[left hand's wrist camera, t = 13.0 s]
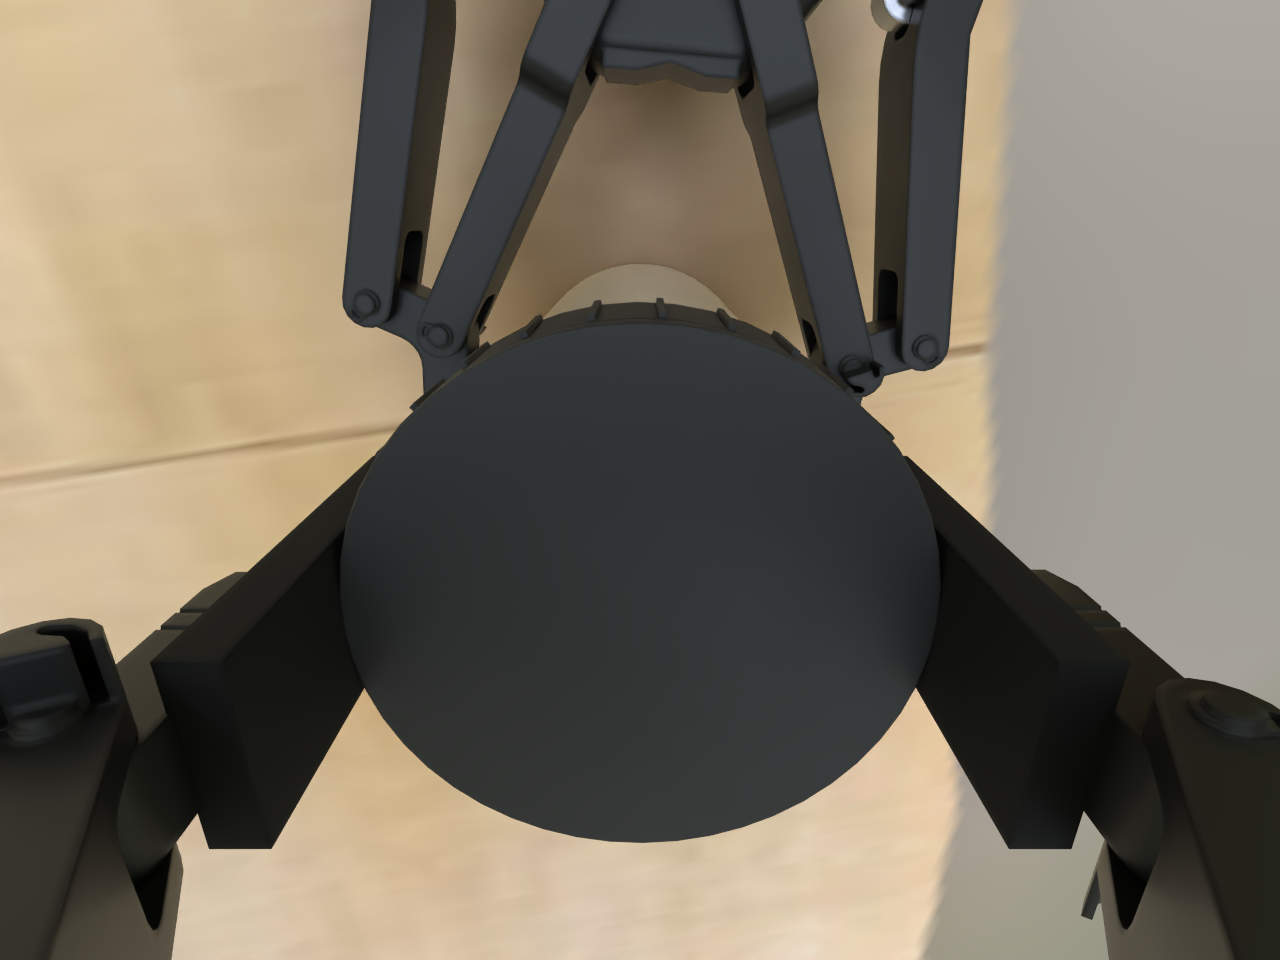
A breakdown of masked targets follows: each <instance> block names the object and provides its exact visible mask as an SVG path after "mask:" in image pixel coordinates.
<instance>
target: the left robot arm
mask: <svg viewBox="0 0 1280 960" xmlns="http://www.w3.org/2000/svg"><path fill="white" fill-rule="evenodd" d="M903 457H904V458H905V460H906V462H907V464H908V465H909V467H910V469H911V471H912V472H913V474H914V476H915V477H916V479H917V481H918V483H919V485H920V488H921V491H922V493H923V496H924V498H925V501H926V503H927V506H928V509H929V511H930V514H931V516H932V521H933V525H934V530H935V535H936V539H937V544H938V549H939V557H940V575H941V594H940V604H939V612H938V618H937V624H936V628H935V633H934V638H933V643H932V647H931V651H930V654H929V657H928V659H927V662H926V664H925V667H924V669H923V672H922V674H921V676H920V679H919V681H918V684H917V686H916V689H917V690H918V692H919V694H920V696H921V697H922V699H923V701H924V702H925V704H926V706H927V708H928V709H929V711H930V713H931V715H932V716H933V718H934V720H935V722H936V723H937V725H938V727H939V728H940V730H941V732H942V734H943V735H944V737H945V739H946V741H947V742H948V744H949V746H950V748H951V749H952V751H953V753H954V754H955V756H956V758H957V760H958V761H959V763H960V765H961V767H962V768H963V770H964V772H965V774H966V775H967V777H968V779H969V780H970V782H971V784H972V786H973V787H974V789H975V791H976V793H977V794H978V796H979V798H980V800H981V801H982V803H983V805H984V806H985V808H986V810H987V812H988V813H989V815H990V817H991V819H992V820H993V822H994V824H995V826H996V827H997V829H998V831H999V832H1000V834H1001V836H1002V838H1003V839H1004V841H1005V843H1006V845H1007V846H1008V848H1009V849H1071V848H1072V845H1073V842H1074V839H1075V836H1076V833H1077V830H1078V827H1079V824H1080V820H1081V817H1082V814H1083V811H1084V812H1085V813H1086V814H1087V816H1088V817H1089V818H1090V820H1091V821H1092V822H1093V824H1094V825H1095V827H1096V828H1097V829H1098V831H1099V832H1100V833H1101V835H1102V836H1103V837H1104V839H1105V840H1104V843H1103V846H1102V849H1101V852H1100V855H1099V858H1098V861H1097V864H1096V867H1095V870H1094V873H1093V876H1092V878H1091V881H1090V884H1089V887H1088V890H1087V893H1086V896H1085V899H1084V903H1083V908H1082V914H1081V916H1083V917H1086V918H1088V919H1091V920H1092V919H1093V916H1094V913H1095V910H1096V907H1097V904H1099V903H1101V904H1102V911H1103V919H1104V926H1105V933H1106V941H1107V947H1108V955H1109V960H1280V709H1278V708H1277V707H1275V706H1274V705H1272V704H1270V703H1268V702H1266V701H1264V700H1262V699H1260V698H1258V697H1255V696H1253V695H1251V694H1249V693H1247V692H1245V691H1242V690H1239V689H1236V688H1233V687H1229V686H1226V685H1223V684H1220V683H1217V682H1212V681H1205V680H1198V679H1191V678H1184V677H1182V676H1181V675H1180V674H1179V673H1178V672H1177V671H1175V670H1174V669H1173V668H1172V667H1171V666H1170V665H1168V664H1167V663H1166V662H1165V661H1164V660H1163V659H1161V658H1160V657H1159V656H1158V655H1157V654H1156V653H1155V652H1153V651H1152V650H1151V649H1150V648H1149V647H1147V646H1146V645H1145V644H1144V643H1143V642H1142V641H1141V640H1139V639H1138V638H1137V637H1136V636H1135V635H1134V634H1132V633H1131V632H1130V631H1129V630H1128V629H1127V628H1124V627H1121V626H1120V622H1118V621H1117V620H1116V619H1115V618H1114V617H1113V616H1112V615H1110V614H1109V613H1108V612H1107V611H1102V610H1101V606H1100V605H1099V604H1098V603H1096V602H1095V601H1094V600H1093V599H1092V598H1091V597H1089V596H1088V595H1087V594H1086V593H1085V592H1084V591H1082V590H1081V589H1080V588H1079V587H1078V586H1076V585H1074V584H1072V583H1070V582H1068V581H1066V580H1064V579H1062V578H1060V577H1058V576H1056V575H1054V574H1052V573H1050V572H1049V571H1047V570H1030V569H1029V568H1028V567H1027V566H1026V565H1025V564H1024V563H1023V562H1022V561H1021V560H1019V559H1018V558H1017V557H1016V556H1015V555H1014V554H1013V553H1012V552H1011V551H1010V550H1009V549H1007V548H1006V547H1005V546H1004V545H1003V544H1002V543H1001V542H1000V541H999V540H998V539H997V538H996V537H994V536H993V535H992V534H991V533H990V532H989V531H988V530H987V529H986V528H985V527H984V526H983V525H981V524H980V523H979V522H978V521H977V520H976V519H975V518H974V517H973V516H972V515H971V514H970V513H968V512H967V511H966V510H965V509H964V508H963V507H962V506H961V505H960V504H959V503H958V502H956V501H955V500H954V499H953V498H952V497H951V496H950V495H949V494H948V493H947V492H946V491H945V490H943V489H942V488H941V487H940V486H939V485H938V484H937V483H936V482H935V481H934V480H933V479H932V478H930V477H929V476H928V475H927V474H926V473H925V472H924V471H923V470H922V469H921V468H920V467H919V466H917V465H916V464H915V463H914V462H913V461H912V460H911V459H910V458H909V457H908V456H903ZM374 460H375V458H374V456H373V457H372V458H371V459H370V460H368V461H367V462H366V463H365V464H364V465H363V466H362V467H361V468H360V469H359V470H358V471H357V472H355V473H354V474H353V475H352V476H351V477H350V478H349V479H348V480H347V481H346V482H345V483H343V484H342V485H341V486H340V487H339V488H338V489H337V490H336V491H335V492H334V493H333V494H332V495H330V496H329V497H328V498H327V499H326V500H325V501H324V502H323V503H322V504H321V505H320V506H319V507H317V508H316V509H315V510H314V511H313V512H312V513H311V514H310V515H309V516H308V517H307V518H306V519H304V520H303V521H302V522H301V523H300V524H299V525H298V526H297V527H296V528H295V529H294V530H293V531H291V532H290V533H289V534H288V535H287V536H286V537H285V538H284V539H283V540H282V541H281V542H279V543H278V544H277V545H276V546H275V547H274V548H273V549H272V550H271V551H270V552H269V553H268V554H266V555H265V556H264V557H263V558H262V559H261V560H260V561H259V562H258V563H257V564H256V565H255V566H253V567H252V568H251V569H250V570H249V571H248V572H235V573H233V574H231V575H229V576H227V577H225V578H223V579H222V580H220V581H218V582H216V583H214V584H212V585H210V586H208V587H206V588H204V589H203V590H201V591H200V592H199V593H198V594H197V595H196V596H195V597H193V598H192V599H191V600H190V601H189V602H188V603H186V604H185V605H184V606H183V607H182V608H181V609H180V613H175V614H174V615H173V616H171V617H170V618H169V619H168V620H167V621H166V622H165V623H163V624H162V625H161V630H155V631H154V632H153V633H152V634H151V635H150V636H148V637H147V638H146V639H145V640H144V641H143V642H141V643H140V644H139V645H138V646H137V647H136V648H135V649H133V650H132V651H131V652H130V653H129V654H128V655H127V656H125V657H124V658H123V659H122V660H121V661H120V662H118V663H117V664H115V661H114V658H113V655H112V652H111V649H110V647H109V644H108V641H107V638H106V635H105V632H104V629H103V626H101V625H100V624H98V623H96V622H94V621H92V620H90V619H77V618H66V619H58V620H50V621H42V622H39V623H35V624H31V625H27V626H24V627H20V628H16V629H12V630H10V631H7V632H5V633H2V634H0V960H171V958H172V950H173V943H174V936H175V928H176V921H177V914H178V906H179V899H180V892H181V885H182V877H183V865H182V859H181V855H180V852H179V849H178V846H177V843H176V842H177V840H178V839H179V838H180V836H181V835H182V834H183V832H184V831H185V830H186V828H187V827H188V825H189V824H190V823H191V821H192V820H193V819H194V817H195V816H196V815H197V813H198V816H199V819H200V822H201V825H202V828H203V831H204V835H205V838H206V841H207V844H208V847H209V849H272V847H273V845H274V844H275V842H276V840H277V838H278V837H279V835H280V833H281V831H282V830H283V828H284V826H285V825H286V823H287V821H288V819H289V818H290V816H291V814H292V812H293V811H294V809H295V807H296V805H297V804H298V802H299V800H300V799H301V797H302V795H303V793H304V792H305V790H306V788H307V786H308V785H309V783H310V781H311V779H312V778H313V776H314V774H315V773H316V771H317V769H318V767H319V766H320V764H321V762H322V760H323V759H324V757H325V755H326V753H327V752H328V750H329V748H330V747H331V745H332V743H333V741H334V740H335V738H336V736H337V734H338V733H339V731H340V729H341V727H342V726H343V724H344V722H345V721H346V719H347V717H348V715H349V714H350V712H351V710H352V708H353V707H354V705H355V703H356V701H357V700H358V698H359V696H360V695H361V693H362V691H363V689H364V688H365V687H364V685H363V683H362V680H361V678H360V676H359V674H358V671H357V669H356V667H355V664H354V662H353V660H352V656H351V653H350V649H349V646H348V641H347V636H346V632H345V627H344V621H343V615H342V609H341V604H340V596H339V582H340V556H341V551H342V546H343V540H344V535H345V529H346V524H347V521H348V518H349V515H350V512H351V509H352V507H353V504H354V501H355V498H356V495H357V492H358V490H359V487H360V486H361V484H362V482H363V480H364V478H365V476H366V474H367V473H368V471H369V469H370V467H371V465H372V463H373V462H374Z"/></svg>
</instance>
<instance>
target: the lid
mask: <svg viewBox="0 0 1280 960" xmlns="http://www.w3.org/2000/svg"><path fill="white" fill-rule="evenodd" d="M459 367H460V369H459V370H458V371H457V372H456V373H455V374H454V375H453V376H451V377H450V378H449V379H448V380H447V381H446V380H445V379H444V378H442V379H441V380H440V381H439V382H438V383H436V384H435V385H434V386H433V387H432V388H431V389H429V390H428V391H427V392H426V393H425V394H424V395H422V396H421V397H420V398H419V399H418V400H416V401H415V402H414V403H413V404H412V405H411V406H410V409H412V410H413V412H412V413H411V414H410V415H409V416H408V417H407V418H406V419H405V420H404V421H403V422H402V423H401V424H400V425H399V427H398V428H397V429H396V431H395V432H394V433H393V435H392V436H391V437H390V439H389V440H388V441H387V443H386V444H385V445H384V446H383V447H382V448H381V449H380V450H379V451H378V452H377V453H376V454H375V456H374V458H375V460H374V462H373V463H372V465H371V467H370V469H369V471H368V473H367V474H366V476H365V478H364V480H363V482H362V484H361V486H360V487H359V490H358V492H357V495H356V498H355V501H354V504H353V507H352V509H351V512H350V515H349V518H348V521H347V524H346V529H345V535H344V540H343V546H342V551H341V556H340V582H339V596H340V604H341V609H342V615H343V621H344V627H345V632H346V636H347V641H348V646H349V649H350V653H351V656H352V660H353V662H354V664H355V667H356V669H357V671H358V674H359V676H360V678H361V680H362V683H363V685H364V687H365V689H366V691H367V693H368V695H369V696H370V698H371V699H372V701H373V703H374V704H375V706H376V708H377V709H378V711H379V713H380V714H381V716H382V717H383V719H384V720H385V721H386V723H387V724H388V725H389V726H390V728H391V729H392V730H393V731H394V732H395V734H396V735H397V736H398V737H399V739H400V740H401V741H402V742H403V744H404V745H405V746H406V747H407V748H408V749H409V750H410V751H412V752H413V753H414V754H415V755H416V756H417V757H418V758H419V759H420V760H421V761H422V762H423V763H424V764H425V765H426V766H427V767H428V768H429V769H431V770H432V771H433V772H435V773H436V774H437V775H439V776H440V777H441V778H443V779H444V780H445V781H446V782H448V783H449V784H450V785H452V786H453V787H454V788H456V789H458V790H459V791H461V792H463V793H464V794H466V795H468V796H469V797H471V798H473V799H474V800H476V801H478V802H479V803H481V804H483V805H485V806H487V807H489V808H491V809H494V810H496V811H498V812H500V813H502V814H504V815H506V816H509V817H511V818H513V819H516V820H519V821H522V822H525V823H527V824H530V825H533V826H536V827H539V828H542V829H545V830H549V831H554V832H558V833H562V834H566V835H570V836H575V837H581V838H588V839H595V840H602V841H610V842H635V843H648V842H666V841H679V840H686V839H692V838H699V837H705V836H711V835H715V834H719V833H722V832H726V831H730V830H734V829H738V828H742V827H745V826H747V825H750V824H753V823H756V822H758V821H761V820H764V819H766V818H769V817H772V816H774V815H776V814H778V813H780V812H783V811H785V810H787V809H789V808H791V807H793V806H795V805H797V804H799V803H801V802H803V801H805V800H806V799H808V798H809V797H811V796H813V795H814V794H816V793H817V792H819V791H820V790H822V789H824V788H825V787H827V786H828V785H830V784H832V783H833V782H834V781H835V780H837V779H838V778H839V777H840V776H842V775H843V774H844V773H845V772H847V771H848V770H849V769H850V768H852V767H853V766H854V765H855V764H857V763H858V762H859V761H860V760H861V759H862V758H863V757H864V756H865V755H866V754H867V753H868V752H869V751H870V750H871V749H872V748H873V746H874V745H875V744H876V743H877V742H878V741H879V740H880V739H881V738H882V737H883V735H884V734H885V733H886V732H887V730H888V729H889V728H890V726H891V725H892V724H893V722H894V721H895V720H896V719H897V717H898V716H899V715H900V713H901V712H902V710H903V708H904V706H905V705H906V703H907V701H908V700H909V698H910V696H911V694H912V693H913V691H914V689H915V688H916V686H917V684H918V681H919V679H920V676H921V674H922V672H923V669H924V667H925V664H926V662H927V659H928V657H929V654H930V651H931V647H932V643H933V638H934V633H935V628H936V624H937V618H938V612H939V604H940V594H941V575H940V557H939V549H938V544H937V539H936V535H935V530H934V525H933V521H932V516H931V514H930V511H929V509H928V506H927V503H926V501H925V498H924V496H923V493H922V491H921V488H920V485H919V483H918V481H917V479H916V477H915V476H914V474H913V472H912V471H911V469H910V467H909V465H908V464H907V462H906V460H905V458H904V457H903V455H902V453H901V451H900V450H899V448H898V447H897V446H896V445H895V443H894V442H893V441H892V440H894V439H895V438H894V437H893V435H892V434H891V433H890V432H889V431H888V430H887V429H886V428H885V427H884V426H882V425H881V424H880V423H879V422H878V421H877V420H876V419H875V418H873V417H872V416H871V415H870V414H869V413H868V412H867V411H866V410H865V409H864V408H863V407H862V406H860V405H859V404H858V403H857V402H856V401H855V400H854V399H853V398H852V397H851V396H850V395H851V394H852V393H853V392H854V390H853V389H852V388H850V387H849V386H848V385H847V384H846V383H845V382H843V381H842V380H841V379H840V378H839V377H837V376H836V375H835V374H834V373H833V372H832V371H830V370H829V369H828V368H827V367H826V366H824V365H823V364H821V365H820V366H819V368H818V367H817V366H816V365H815V364H814V363H812V362H811V361H810V360H809V359H808V358H806V357H805V356H803V355H802V354H800V351H799V350H798V349H797V348H796V347H794V346H793V345H792V344H791V343H790V342H789V341H788V340H786V339H785V338H784V337H783V336H782V335H781V334H780V333H778V332H776V331H773V333H772V334H771V335H770V334H768V333H766V332H764V331H762V330H760V329H758V328H756V327H754V326H752V325H750V324H748V323H746V322H743V321H740V320H737V319H734V318H731V317H730V316H729V315H728V314H727V313H726V311H725V310H724V309H721V308H717V311H716V312H713V311H709V310H704V309H699V308H694V307H689V306H683V305H678V304H669V303H664V299H663V298H656V303H651V302H627V303H614V304H602V303H601V300H595V301H594V302H593V304H592V306H591V307H586V308H581V309H577V310H572V311H568V312H563V313H560V314H557V315H554V316H552V317H549V318H546V319H543V318H542V315H539V316H536V317H535V318H534V319H533V320H532V321H531V322H530V323H529V324H528V325H527V326H525V327H523V328H521V329H519V330H518V331H516V332H514V333H512V334H510V335H508V336H506V337H504V338H503V339H501V340H499V341H497V342H495V343H494V344H492V345H491V346H490V344H489V343H488V342H486V343H484V344H483V345H481V346H480V347H479V348H478V349H477V350H475V351H474V352H473V353H472V354H471V355H470V356H468V357H467V358H466V359H465V360H464V361H463V362H461V363H460V364H459Z"/></svg>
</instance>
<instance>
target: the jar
mask: <svg viewBox="0 0 1280 960" xmlns="http://www.w3.org/2000/svg"><path fill="white" fill-rule="evenodd" d="M656 298H663V299H664V303H669V304H678V305H683V306H689V307H694V308H699V309H704V310H709V311H713V312H716V311H717V308H721V309H724V310H725V311H726V313H727V314H728V315H729V316H730V317H731V318H734V319H737V318H736V316H735V315H734V314H733V313H732V312H731V311H730V310H729V309H728V308H727V306H726V305H725V304H724V303H723V302H722V301H721V300H720V299H719V298H718V296H716V295H715V294H714V293H713V292H712V291H711V290H710V289H709V288H708V287H706V286H705V285H704V284H702V283H701V282H699V281H698V280H696V279H695V278H693V277H691V276H689V275H687V274H685V273H683V272H680V271H677V270H675V269H672V268H669V267H664V266H659V265H654V264H627V265H621V266H616V267H612V268H608V269H605V270H603V271H600V272H597V273H595V274H593V275H591V276H589V277H587V278H586V279H584V280H582V281H581V282H579V283H578V284H577V285H575V286H574V287H572V288H571V289H570V290H569V291H568V292H567V293H566V294H565V295H564V296H563V297H562V298H561V299H560V300H559V301H558V302H557V303H556V304H555V305H554V306H553V307H552V309H551V310H550V311H549V312H548V313H547V314H546V315H545V316H544V317H543V319H546V318H549V317H552V316H554V315H557V314H560V313H563V312H568V311H572V310H577V309H581V308H586V307H591V306H592V304H593V302H594V301H595V300H601V303H602V304H614V303H627V302H651V303H656ZM737 320H738V319H737Z"/></svg>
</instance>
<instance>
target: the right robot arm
mask: <svg viewBox="0 0 1280 960" xmlns="http://www.w3.org/2000/svg"><path fill="white" fill-rule="evenodd" d="M544 1H545V4H544V6H543V9H542V11H541V14H540V16H539V18H538V21H537V23H536V26H535V28H534V31H533V33H532V35H531V38H530V40H529V43H528V45H527V48H526V50H525V53H524V56H523V59H522V63H521V67H520V74H519V79H518V82H517V85H516V88H515V90H514V92H513V95H512V97H511V100H510V102H509V104H508V107H507V109H506V112H505V114H504V116H503V119H502V121H501V124H500V126H499V129H498V131H497V133H496V136H495V138H494V141H493V143H492V145H491V148H490V150H489V153H488V155H487V157H486V160H485V162H484V165H483V167H482V170H481V172H480V174H479V177H478V179H477V182H476V184H475V186H474V189H473V191H472V194H471V196H470V198H469V201H468V203H467V206H466V208H465V211H464V213H463V215H462V218H461V220H460V223H459V225H458V227H457V230H456V232H455V235H454V237H453V240H452V242H451V244H450V247H449V249H448V252H447V254H446V256H445V259H444V261H443V264H442V266H441V268H440V271H439V273H438V276H437V278H436V281H435V283H434V285H433V288H432V289H430V288H428V287H426V286H423V285H421V282H422V275H423V268H424V261H425V253H426V246H427V239H428V232H429V225H430V217H431V210H432V203H433V196H434V189H435V181H436V174H437V167H438V160H439V153H440V145H441V138H442V131H443V124H444V116H445V109H446V102H447V95H448V88H449V80H450V73H451V66H452V59H453V52H454V43H455V32H456V0H371V10H370V21H369V31H368V41H367V51H366V61H365V71H364V82H363V92H362V102H361V112H360V122H359V132H358V143H357V153H356V163H355V173H354V183H353V193H352V204H351V214H350V224H349V234H348V244H347V255H346V265H345V275H344V285H343V295H342V300H343V308H344V310H345V312H346V314H347V316H348V317H349V318H350V319H351V320H352V321H353V322H354V323H356V324H358V325H360V326H362V327H370V328H374V327H378V328H380V329H383V330H385V331H387V332H390V333H392V334H394V335H397V336H399V337H401V338H403V339H405V340H406V341H408V342H409V343H410V344H411V345H413V346H414V347H415V349H416V350H417V352H418V353H419V355H420V358H421V360H422V366H423V390H424V394H425V393H426V392H427V391H428V390H429V389H431V388H432V387H433V386H434V385H435V384H436V383H438V382H439V381H440V380H441V379H442V378H444V379H445V380H446V381H447V380H448V379H449V378H450V377H451V376H453V375H454V374H455V373H456V372H457V371H458V370H459V369H460V367H459V364H460V363H461V362H463V361H464V360H465V359H466V358H467V357H468V356H470V355H471V354H472V353H473V352H474V351H475V350H477V349H478V348H479V336H480V335H481V334H482V333H483V332H484V330H485V329H486V328H487V327H486V326H484V325H485V323H486V320H487V318H488V316H489V314H490V311H491V309H492V307H493V305H494V303H495V300H496V298H497V296H498V294H499V291H500V289H501V287H502V285H503V283H504V280H505V278H506V276H507V274H508V271H509V269H510V267H511V265H512V263H513V260H514V258H515V256H516V254H517V251H518V249H519V247H520V245H521V243H522V240H523V238H524V236H525V234H526V231H527V229H528V227H529V225H530V223H531V220H532V218H533V216H534V214H535V211H536V209H537V207H538V205H539V203H540V200H541V198H542V196H543V194H544V191H545V189H546V187H547V185H548V183H549V180H550V178H551V176H552V174H553V171H554V169H555V167H556V165H557V163H558V160H559V158H560V156H561V154H562V151H563V149H564V147H565V145H566V143H567V140H568V138H569V136H570V134H571V131H572V129H573V127H574V125H575V123H576V121H577V119H578V118H579V116H580V115H581V114H582V112H583V110H584V108H585V106H586V104H587V102H588V100H589V98H590V95H591V93H592V91H593V89H594V86H595V84H596V82H597V80H598V78H599V75H601V76H603V77H605V79H606V82H608V83H619V84H630V85H639V84H643V83H648V82H653V81H658V80H662V79H671V80H673V81H676V82H678V83H681V84H683V85H686V86H688V87H690V88H693V89H695V90H698V91H708V92H719V93H728V92H729V91H730V90H731V88H734V89H735V93H736V96H737V100H738V104H739V108H740V112H741V115H742V119H743V122H744V125H745V127H746V130H747V131H748V133H749V135H750V138H751V141H752V145H753V149H754V152H755V156H756V160H757V164H758V168H759V171H760V175H761V179H762V183H763V187H764V191H765V194H766V198H767V202H768V206H769V210H770V214H771V217H772V221H773V225H774V229H775V233H776V236H777V240H778V244H779V248H780V252H781V256H782V259H783V263H784V267H785V271H786V275H787V279H788V282H789V286H790V290H791V294H792V298H793V301H794V305H795V309H796V313H797V317H798V321H799V324H800V328H801V332H802V336H803V340H804V344H805V347H806V351H807V355H808V358H809V360H810V361H811V362H812V363H814V364H815V365H816V366H817V367H818V368H819V366H820V365H821V364H823V365H824V366H826V367H827V368H828V369H829V370H830V371H832V372H833V373H834V374H835V375H836V376H837V377H839V378H840V379H841V380H842V381H843V382H845V383H846V384H847V385H848V386H849V387H850V388H852V389H853V390H854V392H853V393H852V394H851V395H850V396H851V397H852V398H853V399H854V400H855V401H856V402H857V403H858V404H859V405H861V400H862V397H866V396H868V395H870V394H871V393H873V392H875V391H876V389H877V388H878V387H879V386H880V385H881V383H882V380H883V378H884V376H886V375H890V374H894V373H898V372H901V371H905V370H909V369H914V370H917V371H927V370H930V369H933V368H935V367H936V366H937V365H939V364H940V363H941V362H942V361H943V359H944V358H945V357H946V355H947V352H948V348H949V338H950V324H951V309H952V295H953V280H954V265H955V251H956V236H957V221H958V207H959V192H960V178H961V163H962V148H963V134H964V119H965V104H966V90H967V75H968V61H969V46H970V34H971V31H972V29H973V26H974V23H975V21H976V18H977V15H978V13H979V10H980V7H981V5H982V2H983V0H871V12H872V16H873V19H874V21H875V23H876V24H877V25H878V26H879V27H880V28H882V29H884V30H886V31H888V32H887V35H886V39H885V42H884V48H883V53H882V59H881V65H880V78H879V101H878V139H877V176H876V213H875V250H874V287H873V321H872V322H868V323H866V320H865V316H864V311H863V307H862V302H861V298H860V294H859V289H858V285H857V280H856V276H855V271H854V267H853V263H852V258H851V254H850V249H849V245H848V241H847V236H846V232H845V227H844V223H843V218H842V214H841V210H840V205H839V201H838V196H837V192H836V187H835V183H834V179H833V174H832V170H831V165H830V161H829V156H828V152H827V148H826V143H825V139H824V134H823V130H822V125H821V121H820V117H819V112H818V82H817V76H816V71H815V66H814V62H813V57H812V53H811V49H810V44H809V40H808V35H807V31H806V26H805V21H806V20H807V19H808V18H809V16H810V15H811V14H812V13H813V11H814V10H815V9H816V8H817V6H818V5H819V4H820V3H821V1H822V0H544Z"/></svg>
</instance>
